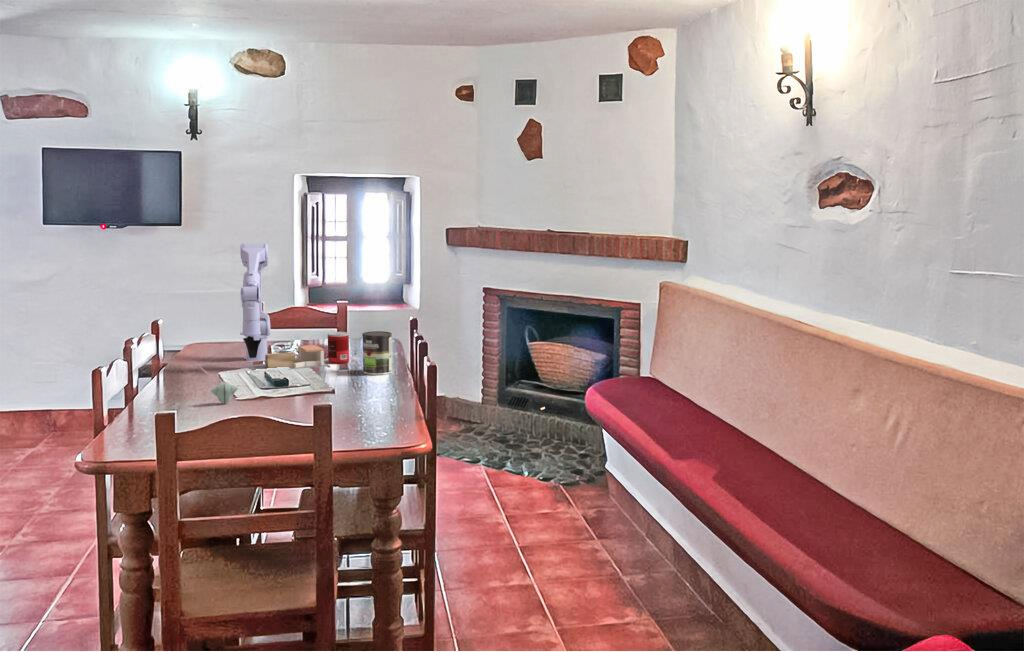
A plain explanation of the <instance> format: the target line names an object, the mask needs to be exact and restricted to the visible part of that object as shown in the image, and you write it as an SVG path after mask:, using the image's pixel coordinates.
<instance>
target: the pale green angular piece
mask: <svg viewBox="0 0 1024 652" xmlns="http://www.w3.org/2000/svg"><path fill="white" fill-rule="evenodd" d="M238 390H239V388H238V386H237V385H232V384H231V383H230V382H227V381H220V383H219V384H217V385H216V386H214V387H212V388H211V389H210V391H211V393H212V394H213V395H214V396H215V397H217V399H218V401H219V402H220V403H221V404H224V405H226V404H227V403H229V402H230V401H231V399H232V397H233V395H234V394H236V392H237V391H238Z"/></svg>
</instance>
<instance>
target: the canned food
mask: <svg viewBox="0 0 1024 652" xmlns="http://www.w3.org/2000/svg"><path fill="white" fill-rule="evenodd" d="M349 343H350V337H349V332H346V331H333V332H331V331H330V332H328V333H327V358H328V360H327V361H328V363H329V364H332V365H342V364H347V363H349V362H350V344H349Z"/></svg>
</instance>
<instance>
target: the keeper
mask: <svg viewBox="0 0 1024 652" xmlns="http://www.w3.org/2000/svg"><path fill="white" fill-rule="evenodd" d="M298 349H299V350H298V351H299V354H298V355H299V358H296V363H294V366H289V368H290V369H289V370H296V369H297V370H298V369H306V368H307V369H308V368H320V367H327V368H330V367H331V365H330V364H328V363H326V362H325V348H323V347H321V346H319V345H317V344H310V345H309V344H307V345H298ZM245 366H246V368H249V369H250V370H251V371H253V370H256V369H267V367H266V366H265V363H259V364H248V365H245Z"/></svg>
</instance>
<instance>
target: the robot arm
mask: <svg viewBox="0 0 1024 652" xmlns="http://www.w3.org/2000/svg"><path fill="white" fill-rule="evenodd" d="M239 248H240V250H239V251H240V259H241V262H242V265H243V267H245V268H246V269H247V270H246V272H244V274H243V281H242V287H240V300H241V308H242V315H243V316H242V331H241V332H239V333H240V335H241V336H244V337H243V338H242V340H243V342H244V343H245V344H244V345H245V349H246V357H243V359H244V360H245V359H246V360H245V361H247V362H249V363H250V362H251V363H252V362H262V361H264V362H265V354H268V337H269V336H270V335H271V332H272V331H271V327H272V326H271V318H270V316H269V314H268V313H266V312H265V311H263V271H264V269H265V268H266V267H268V266H269V253H270V252H269V245H268V243H266V242H265V243H244V242H243V243H241V244H240V247H239Z"/></svg>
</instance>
